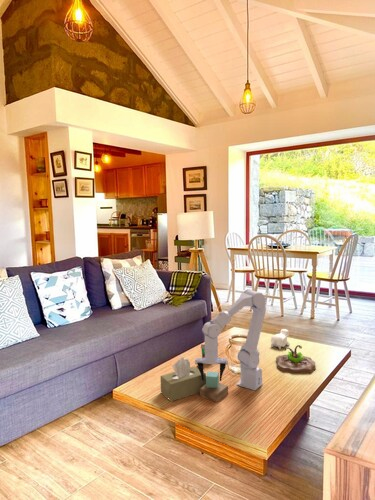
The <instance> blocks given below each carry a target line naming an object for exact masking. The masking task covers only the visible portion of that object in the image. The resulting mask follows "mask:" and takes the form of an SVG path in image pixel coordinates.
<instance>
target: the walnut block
mask: <svg viewBox="0 0 375 500" xmlns="http://www.w3.org/2000/svg"><path fill="white" fill-rule="evenodd" d="M228 395H229V385H227V384H224V383H221V382H219V384H218V388H211V387H206V384H205V385H204V386H202V387H201V388H200V393H199V397H201V396H202V397H201V398H203V397H204V399H206V398H207V399H206V400H209V399H210V400H209V401H213V402H215V403H218V402H220V401H221V400H222V399H223V398H225V397H226V396H228ZM219 400H220V401H219Z"/></svg>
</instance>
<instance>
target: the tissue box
mask: <svg viewBox="0 0 375 500" xmlns="http://www.w3.org/2000/svg"><path fill="white" fill-rule="evenodd" d="M171 366H172V369H173V370H174V372H170V373H167V374H163V375H160V393H161V392H162V393H163V394H164V395H165V396H166V397H167V398H166V397H165V396H164V395H163V394H162V393H161V394H162V395H163V396H164V397H165V398H166V399H168V398H169V399H170V400H171V401H173V400H176V399H179V400H181V399H180V398H182V399H184V398H183V397H185V398H187V397H186V396H188V397H190V395H191V396H194V395H197V394H200V393H199V392H200V388H201V387H202V386H204V385H205V384H206V375H207V373H206V372H204V380H202V376H201V373H200V371H199V369H198V367H197V366H191V362H190V360H189V359H188V358H187V359H185V358H184V357H180V358H178V360H177V361H176V362H175V363H174V364H172V365H171ZM196 393H197V394H196ZM193 394H194V395H193ZM169 399H168V400H169ZM170 400H169V401H170ZM171 401H170V402H171ZM176 401H177V400H176ZM173 402H174V401H173Z"/></svg>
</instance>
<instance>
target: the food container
mask: <svg viewBox="0 0 375 500" xmlns="http://www.w3.org/2000/svg"><path fill="white" fill-rule="evenodd" d="M200 349H201V358H205V343H204V344H203V343H201V345H200Z"/></svg>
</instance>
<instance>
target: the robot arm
mask: <svg viewBox="0 0 375 500" xmlns="http://www.w3.org/2000/svg"><path fill="white" fill-rule="evenodd" d="M266 302H267V298H266V296H265V295H264V294H263V293H262V292H258V291H255V290H252V289H249V288H247V289H246V290H244V291H243V292H242V293H240V296H239V297H238V298H237V300H235V301H234V303H232V304H231V306H229V307H228V308H227V310H222V311H218V313H217V315H216V316H215V317H213V318H212V319H210V321H207V322H205V323H204V325H203V326H202V328H201V332H202V334H204V344H205V358H202V357H198V358H197V357H196V358H195V359H194V364H195V365H197V366H196V368H198V369H199V371H200V373H201V376H202V380H204V373H205V372H204V371H205V369H204V367H205V366H204V365H208V364H209V365H219V382H221V381H222V377H223V374H224V371H225V369H226V366H228V365H229V359H228V358H222V357H219V348H218V347H219V343H218V342H219V341H218V339H219V336H220V334H221V331H222V330H223V328H225V327H226V325H228V324H229V323H230V322H231V321H232V317H234V316H235V314H237V313H238V312H239V311H241V310H242V309H243V308H244V307H250V308H251V310H252V314H251V318H250V322H249V323H250V324H249V326H248V331H247V336H246V339H245V343H244V344H242V345H241V348H240V350H239V351H238V352H237V360H238V362H239V364H240V381H239V382H237V383H236V385H237V386H239V387H243V388H246V389H248V390H252V391H257V390H258V389H259V388H260V387H261V386H262V385H263V384H264V383H263V372H262V371H263V370H262V369H261V368H259V364H260V351H259V348H258V344H259V341H260V340H259V339H260V336H261V332H262V327H263V323H264V320H265V315H266V312H267V311H266V310H267V308H266Z"/></svg>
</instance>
